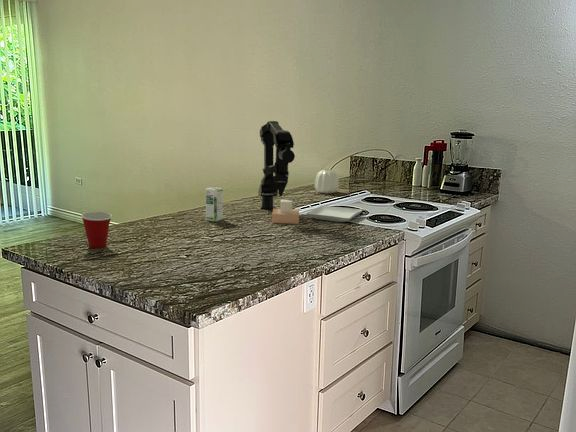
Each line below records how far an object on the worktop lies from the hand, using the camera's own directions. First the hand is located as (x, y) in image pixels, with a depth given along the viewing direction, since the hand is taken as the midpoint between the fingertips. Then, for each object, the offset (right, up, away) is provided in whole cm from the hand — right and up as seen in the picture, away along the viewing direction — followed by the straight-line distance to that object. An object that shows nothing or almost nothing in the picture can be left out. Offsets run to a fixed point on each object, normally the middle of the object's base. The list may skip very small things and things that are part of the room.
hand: (280, 193), depth 261 cm
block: (+2, -8, -1) cm, 8 cm away
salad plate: (+25, -11, +9) cm, 29 cm away
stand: (+2, -12, 0) cm, 12 cm away
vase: (+25, +3, +73) cm, 78 cm away
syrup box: (-30, -12, -3) cm, 32 cm away
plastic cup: (-66, -21, -51) cm, 86 cm away
